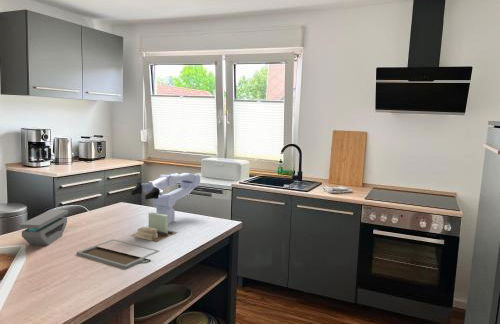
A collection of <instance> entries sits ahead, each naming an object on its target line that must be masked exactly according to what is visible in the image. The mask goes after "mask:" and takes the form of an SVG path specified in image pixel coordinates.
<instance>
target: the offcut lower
mask: <svg viewBox="0 0 500 324" xmlns="http://www.w3.org/2000/svg"><path fill="white" fill-rule="evenodd" d="M134 234H135V237H138V238H137V239H140V238H143V239H142V240H145V239H147V240H146V241H149V240H153V239H155V238H158V233H156V234H154V235H145V234H139V233H138V231H137V232H135V233H134ZM135 237H134V238H135Z"/></svg>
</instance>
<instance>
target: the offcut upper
mask: <svg viewBox="0 0 500 324" xmlns="http://www.w3.org/2000/svg"><path fill="white" fill-rule="evenodd" d="M137 232H138V233H139V234H145V235H154V234H156V233H157V229H155V228H149V226H142V227H138V228H137Z"/></svg>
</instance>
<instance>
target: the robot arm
mask: <svg viewBox="0 0 500 324" xmlns="http://www.w3.org/2000/svg"><path fill="white" fill-rule="evenodd" d="M179 183H180V186H179V187H178V188H176V189H174V190H172V191H170V192H168V193H164V190H163V189H165V188H167V187H173V186H174V185H176V184H179ZM200 183H201V175H200V174H199V173H197V174H195V173H187V172H181V173H180V174H179V173H177V172H172V173H168V174H160V175H159V177H157V178H156V179H154V180H151V181H150V180H149V181H148V182H147V183H142V182H137V183H136V184H135V186H134V188H133V189H132V190H131V196H136V195H138V194H139V195H142V193H143V192H144V193H146V194H145V195H144V197H145V198H144V199H145V200H151V199H152V204H153V206H154V208H155V209H156V211H155V213H158V214H164V215H168V225H170V224H172V223H175V220H176V219H175V216H176V215H175V213H176V212H175V209H174V206H175V205H176V203H177V201H178V200H180V199H182V198H183V197H185V196H188V195H190V194H191V193H192V192H193V191H194V189H195V188H197V187H198V186H200Z"/></svg>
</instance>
